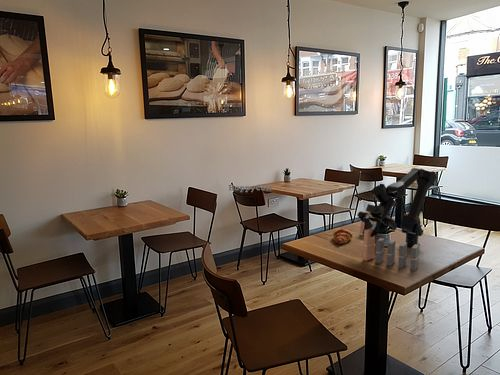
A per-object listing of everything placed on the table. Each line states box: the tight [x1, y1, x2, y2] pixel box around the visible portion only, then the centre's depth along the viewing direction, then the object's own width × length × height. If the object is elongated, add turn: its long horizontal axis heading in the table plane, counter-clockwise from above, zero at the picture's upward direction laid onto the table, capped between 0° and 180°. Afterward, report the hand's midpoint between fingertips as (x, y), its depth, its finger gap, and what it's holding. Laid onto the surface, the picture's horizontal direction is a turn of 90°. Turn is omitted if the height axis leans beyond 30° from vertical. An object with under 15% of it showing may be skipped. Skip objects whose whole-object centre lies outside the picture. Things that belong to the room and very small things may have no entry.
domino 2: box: [374, 237, 385, 264], centre depth 173 cm, size 5×2×10 cm, turn 143°
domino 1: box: [362, 228, 376, 262], centre depth 176 cm, size 5×2×14 cm, turn 123°
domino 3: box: [386, 240, 396, 267], centre depth 170 cm, size 5×2×10 cm, turn 143°
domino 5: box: [409, 244, 420, 272], centre depth 164 cm, size 5×2×10 cm, turn 143°
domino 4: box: [397, 241, 408, 269], centre depth 167 cm, size 5×2×10 cm, turn 143°
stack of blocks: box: [360, 211, 376, 236], centre depth 218 cm, size 21×6×12 cm, turn 144°
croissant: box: [332, 227, 353, 245], centre depth 205 cm, size 21×10×8 cm, turn 160°
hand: (367, 235), depth 174 cm, fingers open, 4 cm apart
